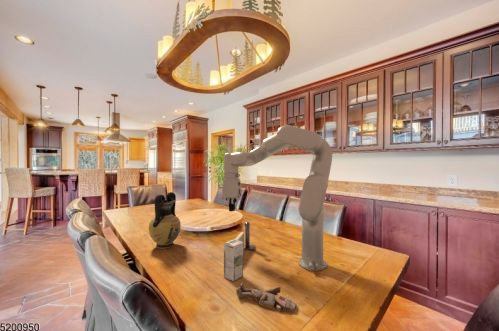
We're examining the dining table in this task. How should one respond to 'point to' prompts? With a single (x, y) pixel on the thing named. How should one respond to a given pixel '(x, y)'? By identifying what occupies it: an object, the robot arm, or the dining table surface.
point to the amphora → (164, 221)
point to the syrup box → (233, 259)
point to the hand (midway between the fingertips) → (232, 210)
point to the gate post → (248, 238)
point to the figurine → (267, 298)
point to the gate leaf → (240, 238)
